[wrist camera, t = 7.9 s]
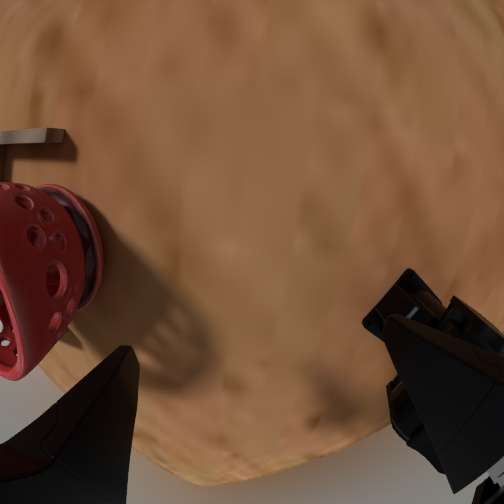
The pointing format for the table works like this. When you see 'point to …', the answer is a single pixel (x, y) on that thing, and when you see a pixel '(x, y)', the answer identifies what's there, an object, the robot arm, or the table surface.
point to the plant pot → (43, 270)
